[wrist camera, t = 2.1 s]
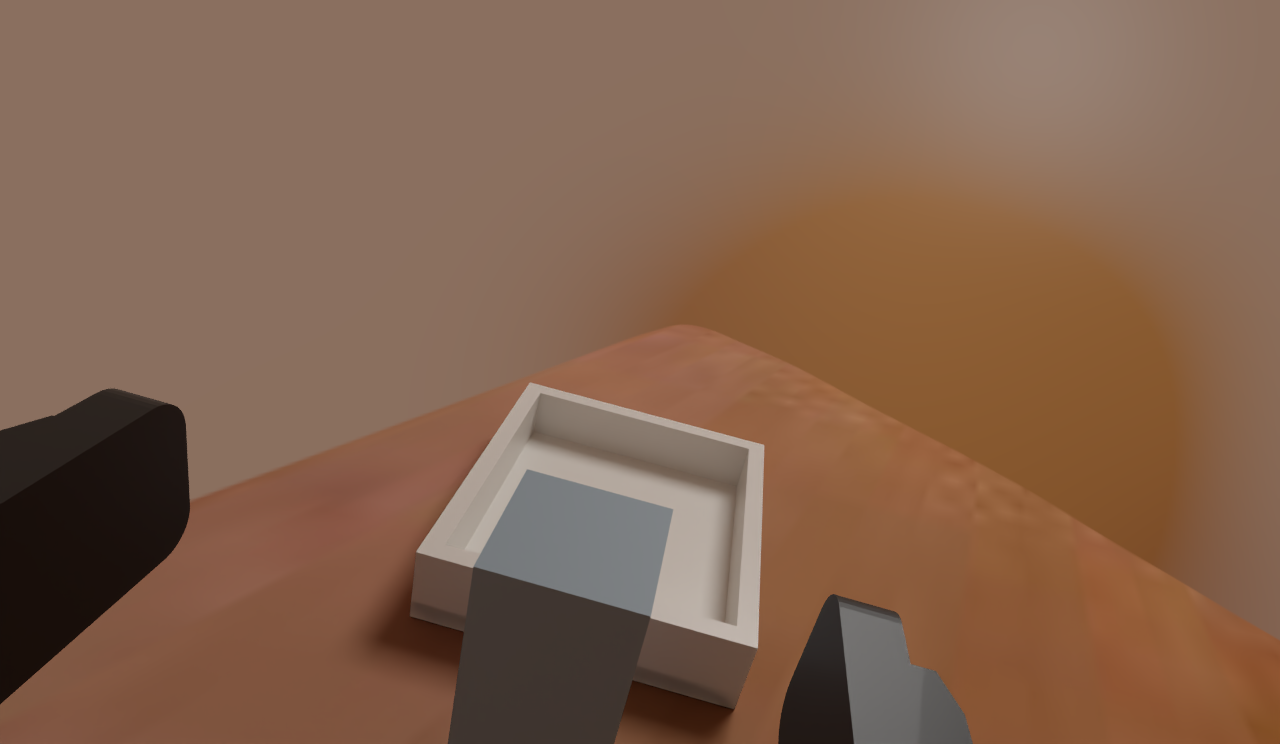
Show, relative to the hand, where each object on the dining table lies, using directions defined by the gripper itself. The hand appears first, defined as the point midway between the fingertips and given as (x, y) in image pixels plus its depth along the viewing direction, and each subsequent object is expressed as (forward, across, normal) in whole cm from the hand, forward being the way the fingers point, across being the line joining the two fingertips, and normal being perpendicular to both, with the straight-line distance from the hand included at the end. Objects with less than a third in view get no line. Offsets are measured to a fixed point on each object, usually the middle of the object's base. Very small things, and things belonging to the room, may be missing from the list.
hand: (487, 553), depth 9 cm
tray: (+28, 0, +22) cm, 36 cm away
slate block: (+11, 0, +22) cm, 25 cm away
